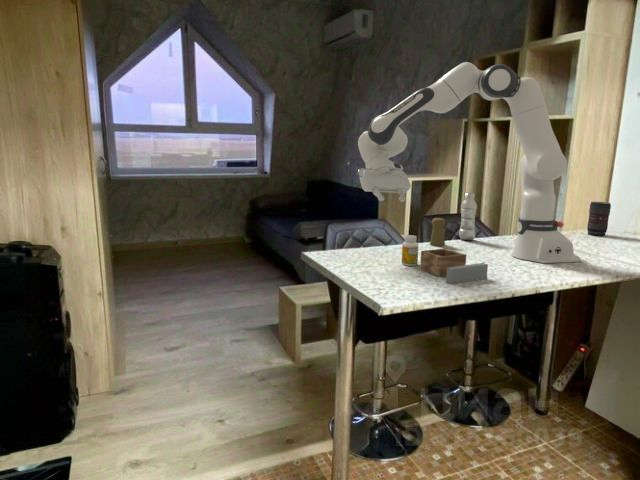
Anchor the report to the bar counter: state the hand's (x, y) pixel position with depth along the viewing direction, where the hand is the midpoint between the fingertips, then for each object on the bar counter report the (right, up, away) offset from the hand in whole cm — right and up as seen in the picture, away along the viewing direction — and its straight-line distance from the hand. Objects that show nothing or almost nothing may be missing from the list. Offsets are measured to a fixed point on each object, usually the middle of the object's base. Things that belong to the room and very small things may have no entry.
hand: (392, 200), depth 166 cm
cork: (+22, -16, +24) cm, 36 cm away
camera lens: (+100, -12, +46) cm, 111 cm away
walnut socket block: (+14, -24, -15) cm, 32 cm away
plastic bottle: (+37, -14, +34) cm, 52 cm away
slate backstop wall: (+18, -26, -25) cm, 41 cm away
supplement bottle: (+5, -23, -6) cm, 24 cm away
